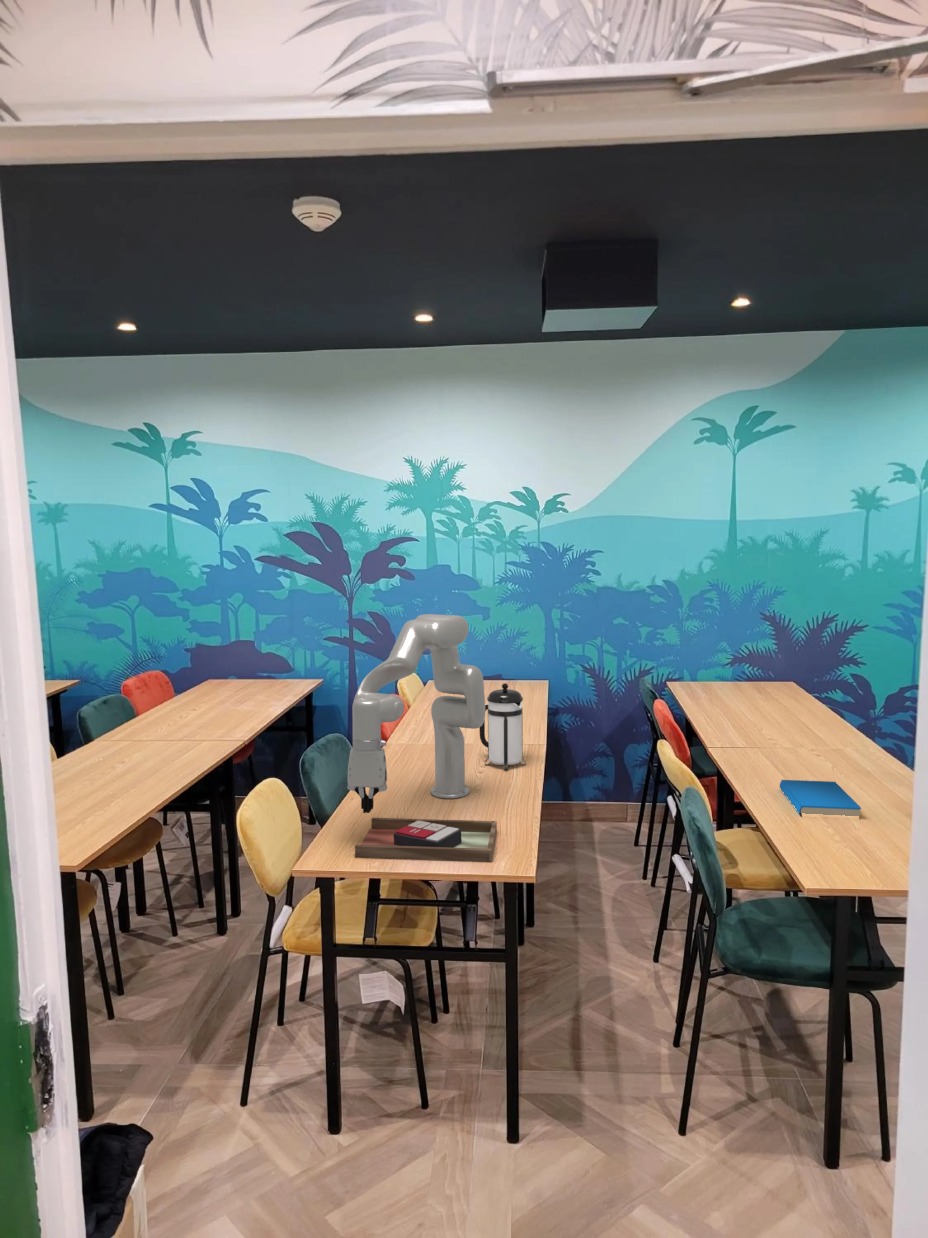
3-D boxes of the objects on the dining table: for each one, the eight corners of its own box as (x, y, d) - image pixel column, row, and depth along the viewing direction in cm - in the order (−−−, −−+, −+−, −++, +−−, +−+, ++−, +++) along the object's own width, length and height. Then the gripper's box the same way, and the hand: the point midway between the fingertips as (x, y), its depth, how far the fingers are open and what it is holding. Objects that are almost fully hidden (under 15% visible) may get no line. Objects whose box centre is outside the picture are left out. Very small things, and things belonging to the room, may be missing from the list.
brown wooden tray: (370, 827, 225) (370, 817, 225) (496, 831, 222) (496, 821, 221) (352, 857, 204) (352, 846, 204) (491, 862, 201) (491, 850, 200)
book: (834, 781, 253) (862, 806, 228) (834, 794, 253) (861, 821, 229) (778, 779, 255) (800, 804, 231) (778, 792, 256) (799, 818, 231)
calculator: (417, 818, 221) (461, 826, 213) (418, 833, 222) (462, 842, 213) (392, 831, 212) (437, 839, 204) (393, 846, 213) (438, 856, 204)
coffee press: (526, 759, 294) (526, 679, 291) (525, 771, 278) (525, 687, 275) (479, 758, 295) (479, 678, 292) (476, 770, 280) (475, 687, 276)
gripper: (396, 742, 215) (397, 808, 216) (343, 740, 216) (343, 806, 218) (391, 748, 207) (392, 817, 209) (335, 747, 209) (336, 815, 210)
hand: (367, 811), depth 213 cm, fingers closed
